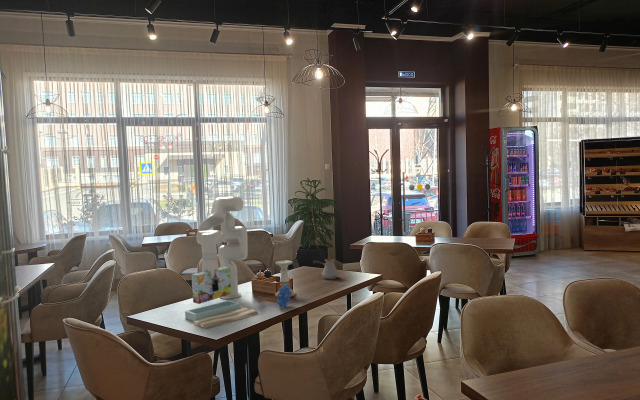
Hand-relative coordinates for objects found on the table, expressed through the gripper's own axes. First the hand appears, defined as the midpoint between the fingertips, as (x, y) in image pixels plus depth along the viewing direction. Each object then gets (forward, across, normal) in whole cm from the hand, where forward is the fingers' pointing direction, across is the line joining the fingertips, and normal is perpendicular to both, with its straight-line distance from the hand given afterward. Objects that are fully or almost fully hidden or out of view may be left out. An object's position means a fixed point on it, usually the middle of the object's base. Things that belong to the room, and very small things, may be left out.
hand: (212, 289), depth 243 cm
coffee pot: (+16, -10, +92) cm, 94 cm away
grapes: (+14, +20, +31) cm, 39 cm away
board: (+13, +14, -1) cm, 19 cm away
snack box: (+5, 0, 0) cm, 5 cm away
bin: (+13, +1, -1) cm, 13 cm away
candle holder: (+14, +1, +48) cm, 50 cm away
